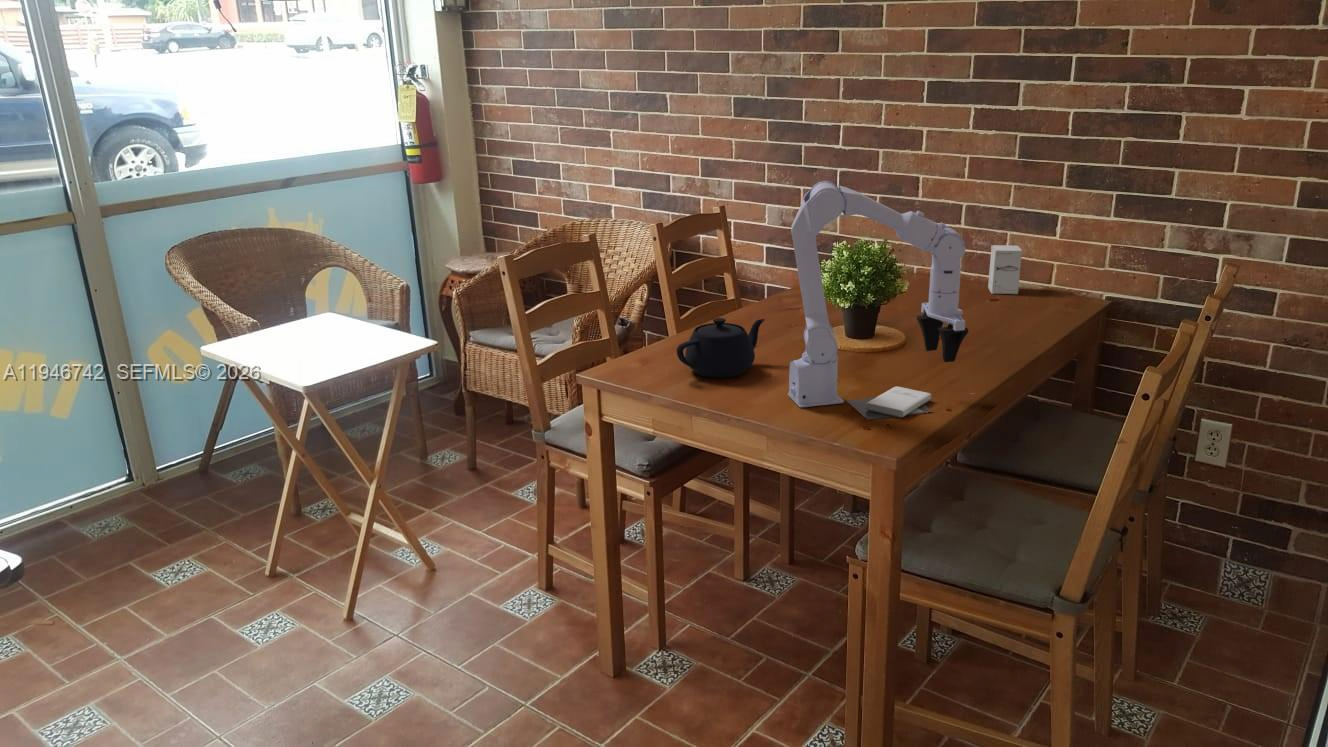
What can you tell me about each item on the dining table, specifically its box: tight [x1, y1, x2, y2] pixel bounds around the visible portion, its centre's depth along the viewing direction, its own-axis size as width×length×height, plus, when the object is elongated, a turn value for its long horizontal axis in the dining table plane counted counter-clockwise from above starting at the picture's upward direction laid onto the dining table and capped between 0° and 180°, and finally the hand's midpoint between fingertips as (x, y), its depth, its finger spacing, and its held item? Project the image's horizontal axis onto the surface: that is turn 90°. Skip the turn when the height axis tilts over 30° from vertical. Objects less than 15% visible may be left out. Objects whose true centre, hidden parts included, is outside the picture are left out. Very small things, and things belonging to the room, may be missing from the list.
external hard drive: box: [866, 386, 932, 418], centre depth 206 cm, size 2×8×12 cm
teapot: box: [676, 317, 766, 379], centre depth 229 cm, size 25×16×12 cm, turn 126°
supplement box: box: [987, 244, 1023, 295], centre depth 288 cm, size 7×7×13 cm
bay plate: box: [846, 396, 933, 421], centre depth 206 cm, size 14×11×1 cm
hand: (940, 355), depth 206 cm, fingers open, 7 cm apart
